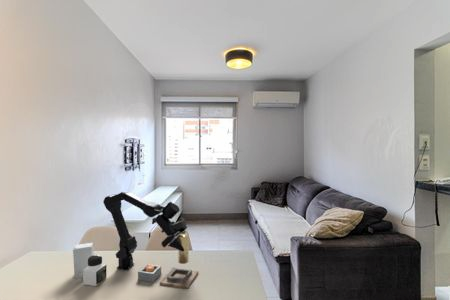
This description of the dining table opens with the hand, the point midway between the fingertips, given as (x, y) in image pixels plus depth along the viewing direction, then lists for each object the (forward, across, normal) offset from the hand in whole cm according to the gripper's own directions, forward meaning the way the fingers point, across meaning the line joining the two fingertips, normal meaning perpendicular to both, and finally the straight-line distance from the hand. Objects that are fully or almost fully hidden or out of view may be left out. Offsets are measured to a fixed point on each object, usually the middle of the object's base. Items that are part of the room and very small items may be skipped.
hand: (186, 248), depth 123 cm
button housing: (-2, -6, +21) cm, 22 cm away
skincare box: (-25, -12, +45) cm, 53 cm away
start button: (-3, -6, +20) cm, 21 cm away
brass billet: (+4, 0, +6) cm, 7 cm away
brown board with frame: (+8, -4, +11) cm, 14 cm away
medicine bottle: (-18, -16, +38) cm, 45 cm away
